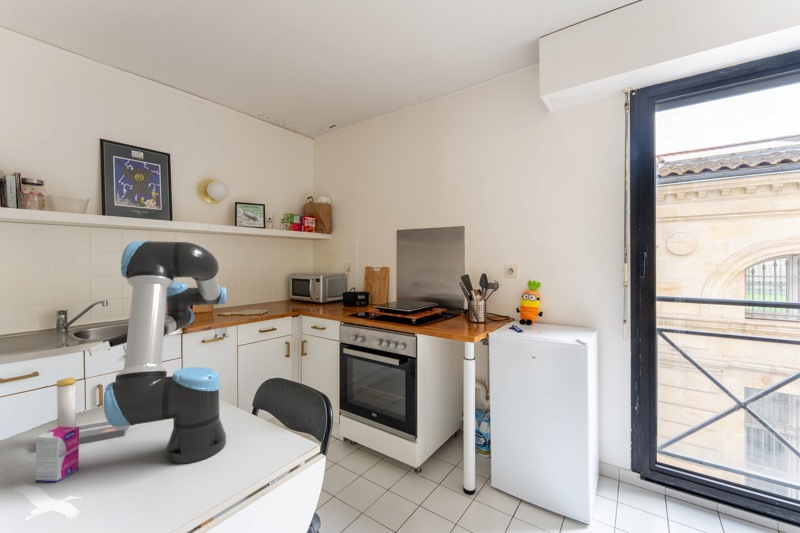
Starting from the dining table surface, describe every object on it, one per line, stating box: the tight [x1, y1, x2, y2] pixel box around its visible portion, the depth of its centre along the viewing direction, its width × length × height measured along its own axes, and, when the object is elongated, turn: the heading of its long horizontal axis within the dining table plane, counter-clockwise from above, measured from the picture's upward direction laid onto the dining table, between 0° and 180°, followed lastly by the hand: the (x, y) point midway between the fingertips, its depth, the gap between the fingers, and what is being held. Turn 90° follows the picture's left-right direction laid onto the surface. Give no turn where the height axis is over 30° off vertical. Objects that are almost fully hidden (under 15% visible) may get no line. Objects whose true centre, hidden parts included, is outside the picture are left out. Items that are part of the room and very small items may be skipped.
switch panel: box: [45, 419, 130, 445], centre depth 107 cm, size 20×10×3 cm, turn 118°
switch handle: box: [56, 377, 77, 427], centre depth 104 cm, size 4×4×16 cm
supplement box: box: [34, 426, 80, 484], centre depth 87 cm, size 6×6×12 cm
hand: (106, 351), depth 113 cm, fingers open, 13 cm apart
